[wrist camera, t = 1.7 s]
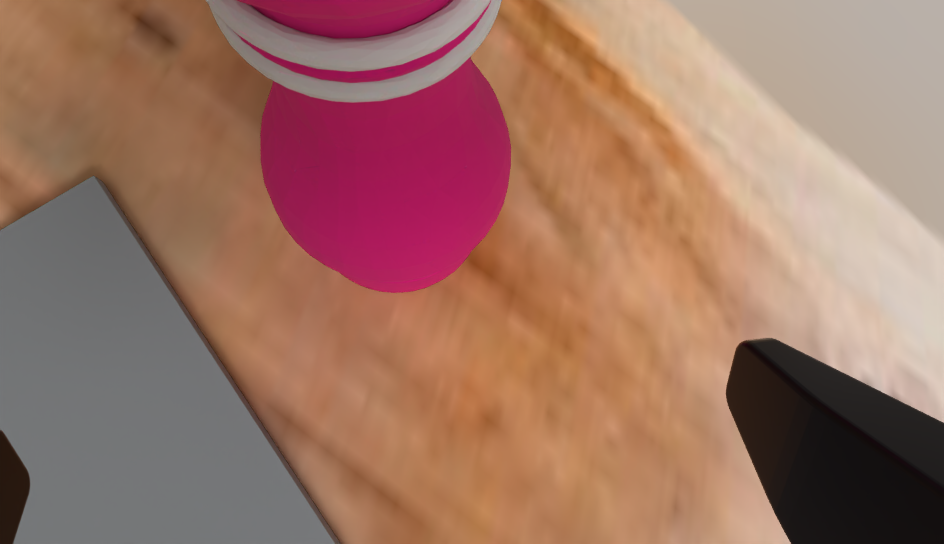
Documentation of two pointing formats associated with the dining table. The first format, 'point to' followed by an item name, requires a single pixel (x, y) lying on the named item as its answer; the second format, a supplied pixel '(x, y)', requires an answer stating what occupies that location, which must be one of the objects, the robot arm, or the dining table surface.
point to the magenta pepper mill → (377, 130)
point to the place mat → (127, 397)
